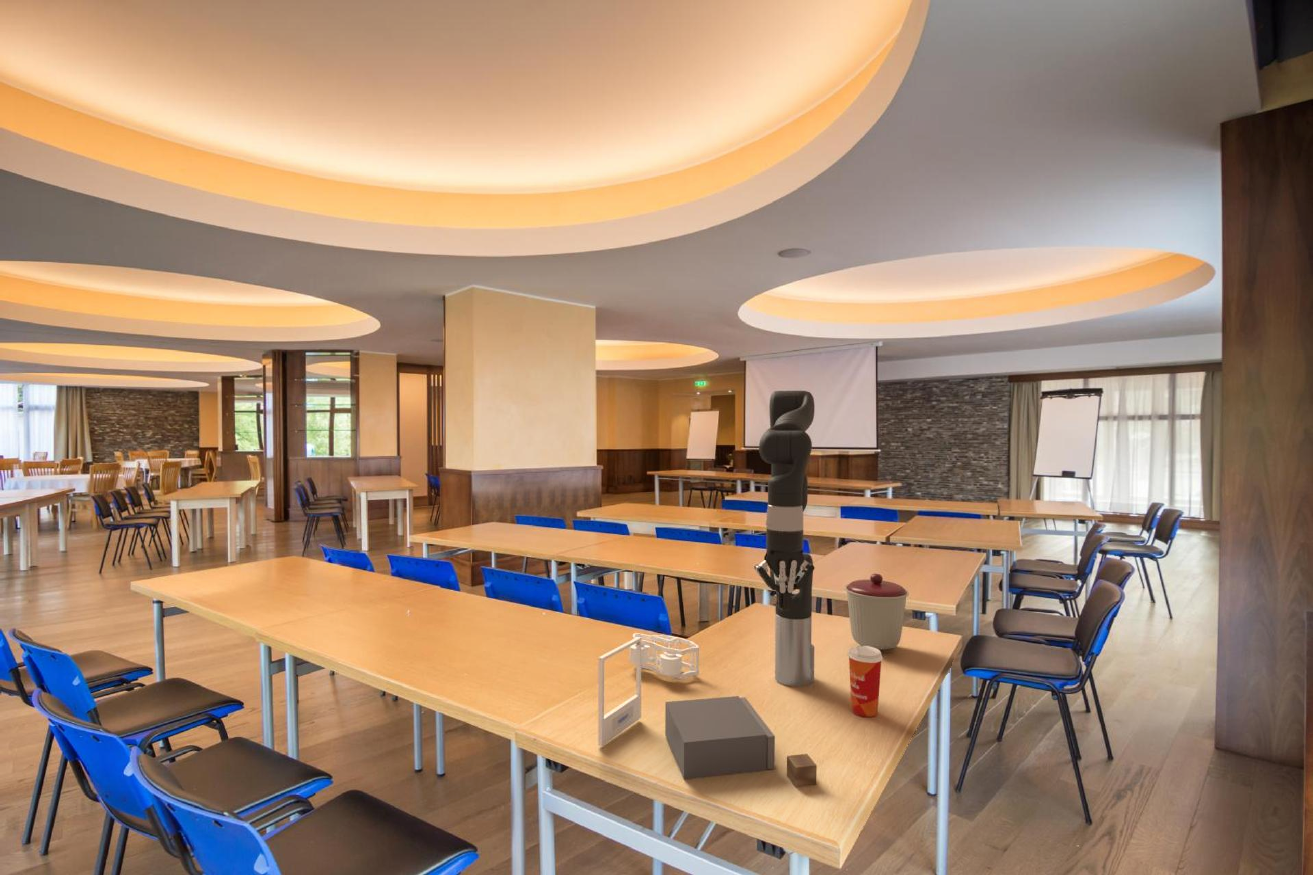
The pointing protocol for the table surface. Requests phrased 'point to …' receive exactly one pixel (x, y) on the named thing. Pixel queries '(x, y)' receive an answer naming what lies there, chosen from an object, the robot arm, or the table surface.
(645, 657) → the cup holder
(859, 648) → the paper cup
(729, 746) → the grey drawer box
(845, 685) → the table surface
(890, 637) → the canister
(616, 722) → the photo frame
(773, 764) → the grey drawer
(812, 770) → the block
